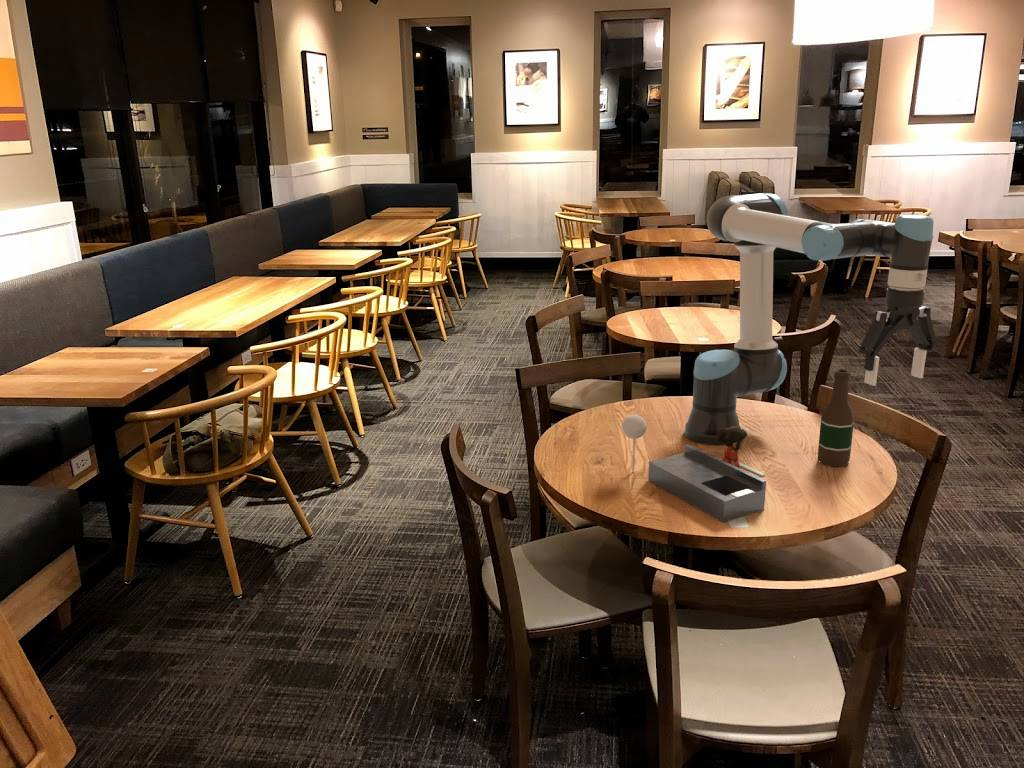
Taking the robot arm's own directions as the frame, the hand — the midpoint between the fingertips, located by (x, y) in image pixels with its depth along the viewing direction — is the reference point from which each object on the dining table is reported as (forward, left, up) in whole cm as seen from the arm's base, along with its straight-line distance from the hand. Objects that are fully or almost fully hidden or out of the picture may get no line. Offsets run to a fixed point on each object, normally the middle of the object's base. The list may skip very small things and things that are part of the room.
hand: (893, 380), depth 184 cm
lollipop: (-37, -44, -26) cm, 63 cm away
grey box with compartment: (-18, -38, -26) cm, 50 cm away
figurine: (-24, -24, -26) cm, 43 cm away
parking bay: (-24, -24, -26) cm, 43 cm away
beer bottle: (-16, +3, -26) cm, 31 cm away
